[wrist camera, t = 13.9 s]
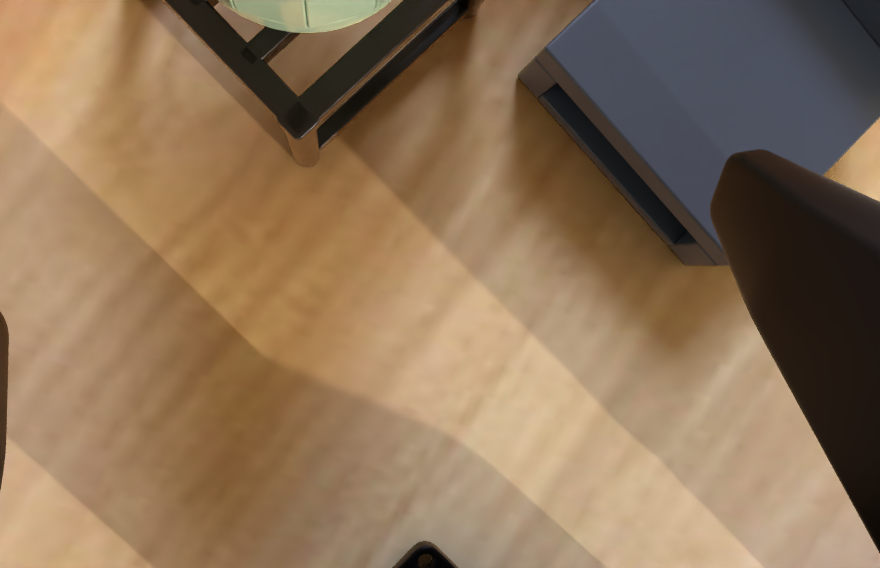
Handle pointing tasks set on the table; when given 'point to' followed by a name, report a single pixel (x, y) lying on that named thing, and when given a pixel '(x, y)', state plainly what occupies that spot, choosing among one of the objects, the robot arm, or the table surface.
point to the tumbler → (305, 13)
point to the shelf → (708, 96)
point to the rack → (338, 82)
